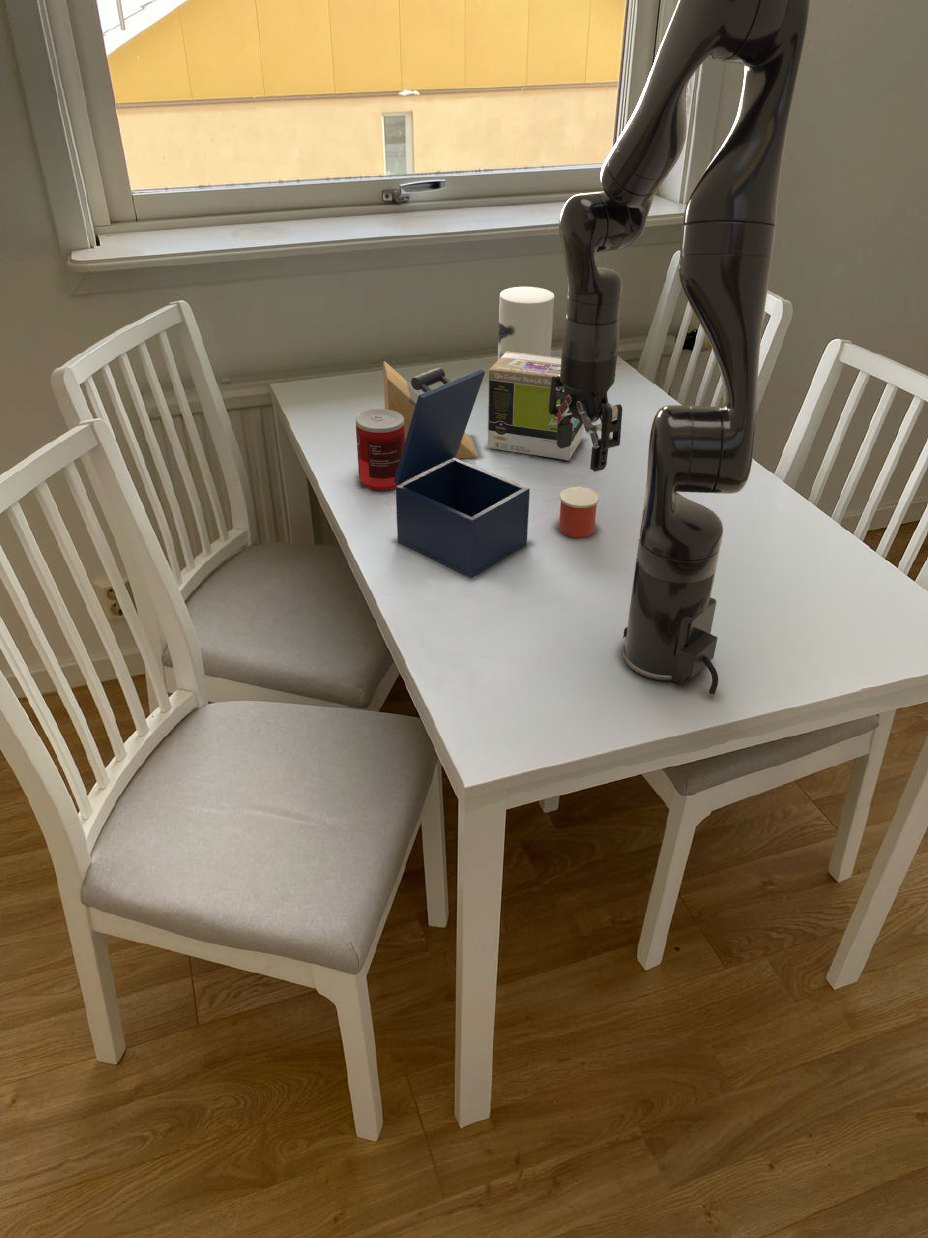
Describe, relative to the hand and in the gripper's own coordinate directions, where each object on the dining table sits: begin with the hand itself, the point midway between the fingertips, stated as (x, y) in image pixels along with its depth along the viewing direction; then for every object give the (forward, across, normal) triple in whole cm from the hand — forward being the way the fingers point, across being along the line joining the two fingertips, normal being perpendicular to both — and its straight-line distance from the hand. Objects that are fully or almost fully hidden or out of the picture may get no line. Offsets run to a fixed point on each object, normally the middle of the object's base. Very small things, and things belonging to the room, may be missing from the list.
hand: (580, 457), depth 140 cm
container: (+12, +47, -20) cm, 52 cm away
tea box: (+12, +28, -11) cm, 32 cm away
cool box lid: (-5, +8, +19) cm, 21 cm away
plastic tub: (+12, 0, 0) cm, 12 cm away
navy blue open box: (+12, +4, +17) cm, 21 cm away
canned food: (+12, +28, +19) cm, 36 cm away
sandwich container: (+12, +34, +6) cm, 37 cm away
